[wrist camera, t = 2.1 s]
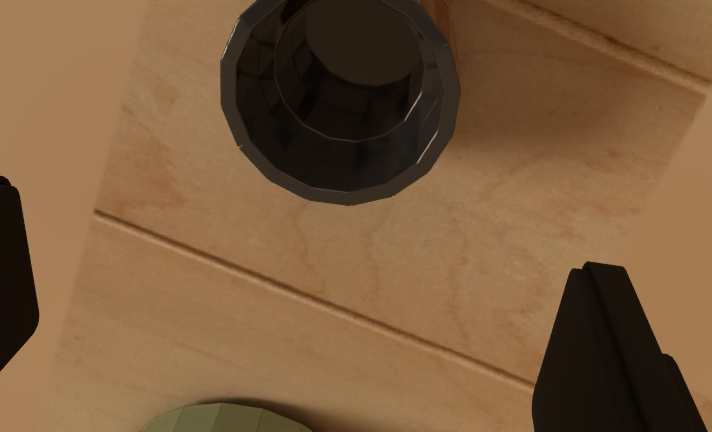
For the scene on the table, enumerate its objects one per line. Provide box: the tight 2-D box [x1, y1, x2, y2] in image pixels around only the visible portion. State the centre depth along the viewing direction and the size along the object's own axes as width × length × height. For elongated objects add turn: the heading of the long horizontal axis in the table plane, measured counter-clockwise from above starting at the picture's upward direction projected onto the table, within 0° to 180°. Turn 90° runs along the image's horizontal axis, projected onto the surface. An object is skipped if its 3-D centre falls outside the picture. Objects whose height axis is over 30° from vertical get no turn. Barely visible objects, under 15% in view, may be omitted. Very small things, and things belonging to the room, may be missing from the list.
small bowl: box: [220, 0, 461, 206], centre depth 22 cm, size 7×7×6 cm
